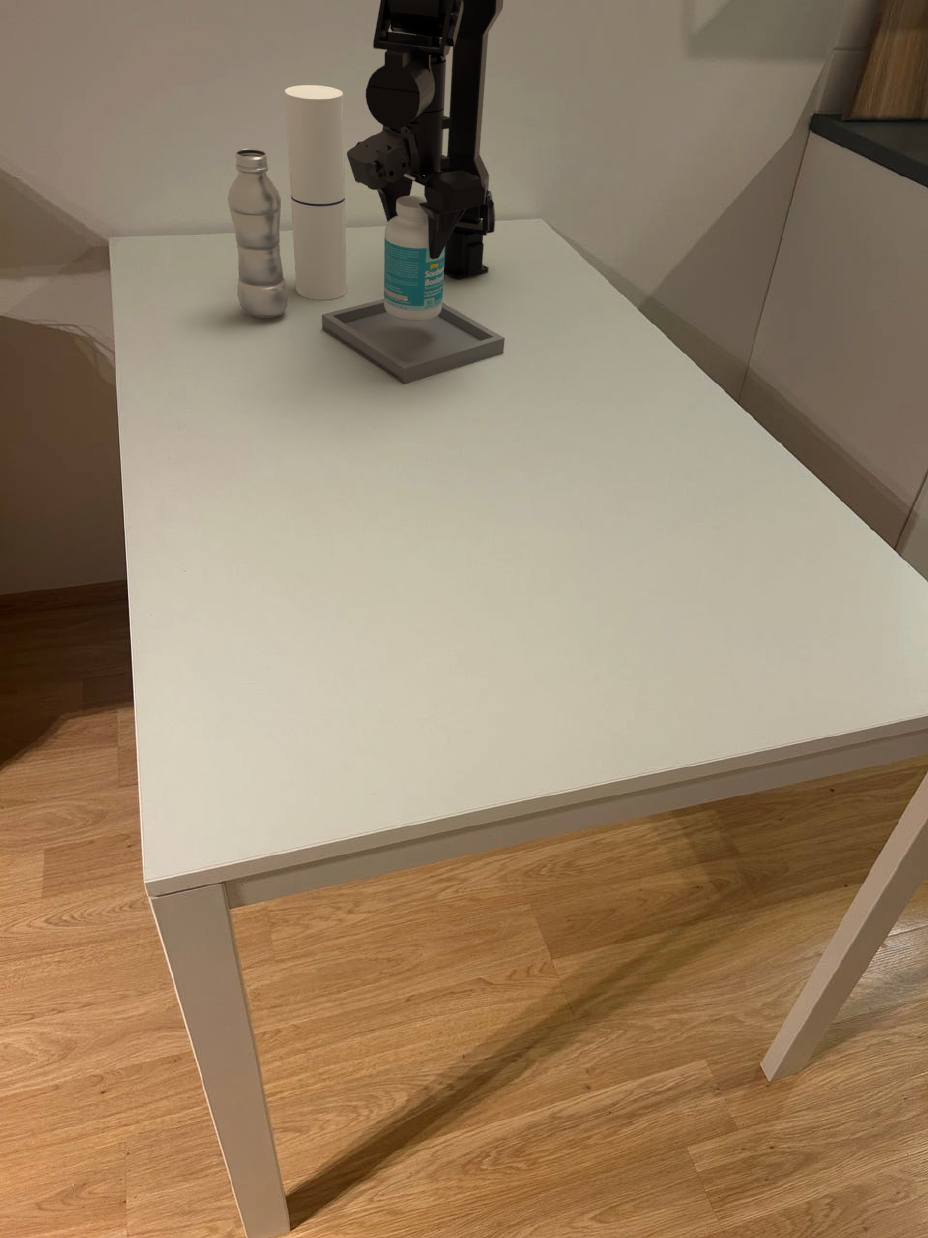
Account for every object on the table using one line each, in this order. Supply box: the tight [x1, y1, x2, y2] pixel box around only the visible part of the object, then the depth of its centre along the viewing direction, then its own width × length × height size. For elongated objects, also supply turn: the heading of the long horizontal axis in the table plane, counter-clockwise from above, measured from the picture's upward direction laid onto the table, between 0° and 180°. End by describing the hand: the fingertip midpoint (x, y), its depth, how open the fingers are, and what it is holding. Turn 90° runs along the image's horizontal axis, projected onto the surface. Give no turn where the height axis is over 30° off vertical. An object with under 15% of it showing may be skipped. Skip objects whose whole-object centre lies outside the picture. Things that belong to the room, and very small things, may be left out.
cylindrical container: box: [284, 84, 348, 301], centre depth 124 cm, size 7×7×25 cm
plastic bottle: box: [227, 148, 289, 319], centre depth 118 cm, size 6×7×20 cm
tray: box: [321, 298, 506, 385], centre depth 121 cm, size 18×16×2 cm
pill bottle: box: [383, 195, 445, 321], centre depth 115 cm, size 8×7×14 cm
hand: (414, 247), depth 114 cm, fingers closed on pill bottle, 7 cm apart
